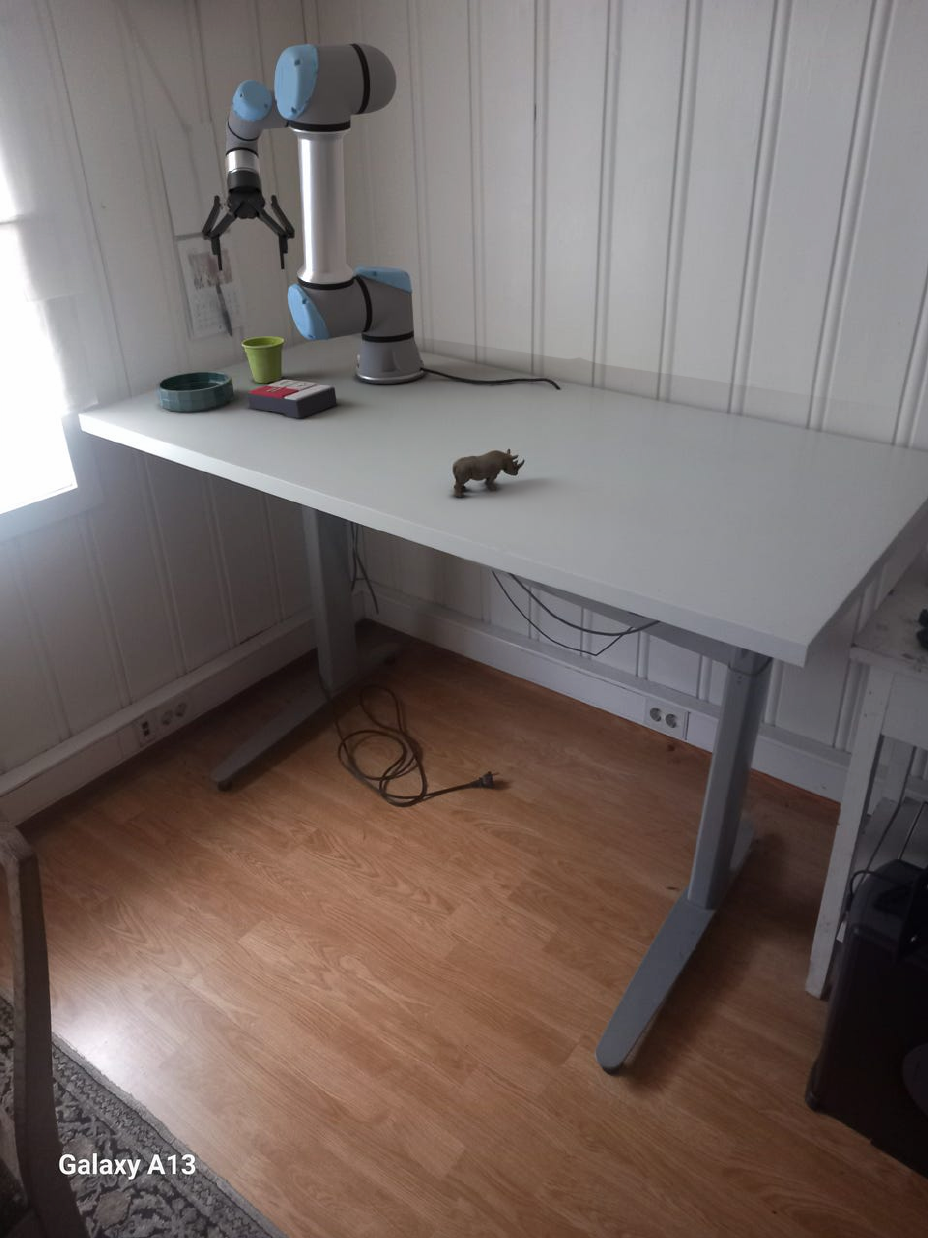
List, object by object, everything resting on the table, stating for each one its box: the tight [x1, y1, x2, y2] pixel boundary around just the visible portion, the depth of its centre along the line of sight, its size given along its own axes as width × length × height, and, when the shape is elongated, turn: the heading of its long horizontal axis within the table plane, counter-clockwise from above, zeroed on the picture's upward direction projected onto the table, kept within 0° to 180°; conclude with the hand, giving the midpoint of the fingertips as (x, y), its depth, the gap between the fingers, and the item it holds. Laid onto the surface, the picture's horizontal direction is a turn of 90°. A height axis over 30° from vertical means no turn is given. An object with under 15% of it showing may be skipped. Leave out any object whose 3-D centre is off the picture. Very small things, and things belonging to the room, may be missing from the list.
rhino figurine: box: [452, 448, 526, 498], centre depth 155 cm, size 4×14×6 cm, turn 119°
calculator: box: [246, 379, 338, 419], centre depth 198 cm, size 11×4×15 cm
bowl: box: [155, 370, 235, 413], centre depth 204 cm, size 15×15×4 cm
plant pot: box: [241, 335, 285, 384], centre depth 216 cm, size 9×9×9 cm
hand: (251, 266), depth 214 cm, fingers open, 13 cm apart
